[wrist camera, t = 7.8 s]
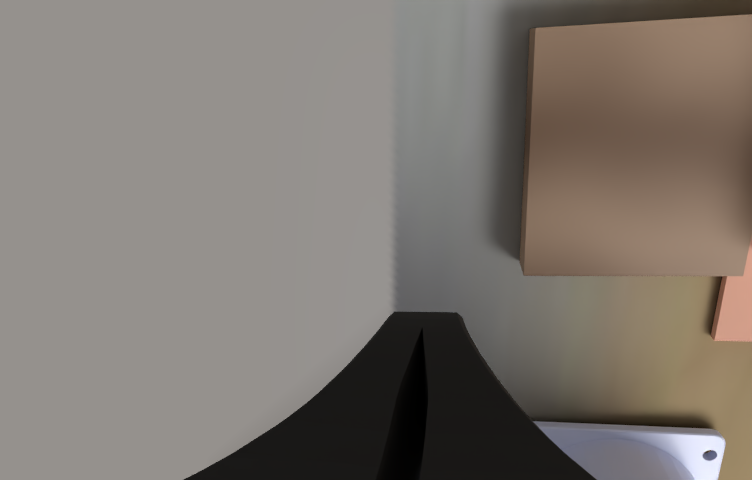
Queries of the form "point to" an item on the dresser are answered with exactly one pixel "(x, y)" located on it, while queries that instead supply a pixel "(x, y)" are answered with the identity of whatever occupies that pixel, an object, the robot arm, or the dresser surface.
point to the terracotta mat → (735, 306)
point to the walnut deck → (638, 149)
